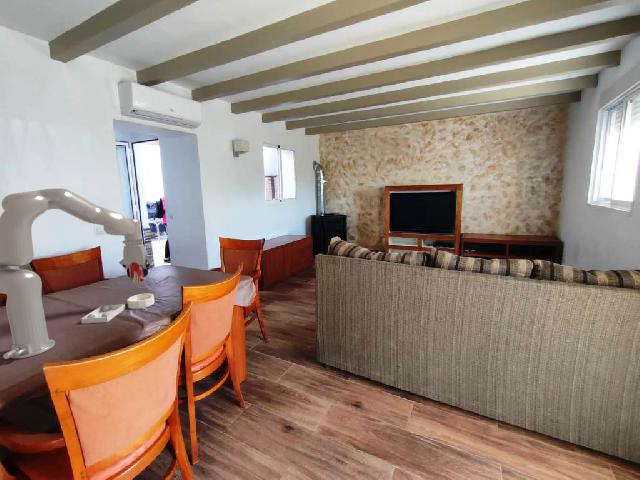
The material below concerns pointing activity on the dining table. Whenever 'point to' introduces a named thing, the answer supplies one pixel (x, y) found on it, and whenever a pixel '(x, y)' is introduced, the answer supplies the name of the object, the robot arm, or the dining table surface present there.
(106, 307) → the pebble
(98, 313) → the parts tray
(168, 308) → the dining table surface
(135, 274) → the soda can
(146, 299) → the bowl
